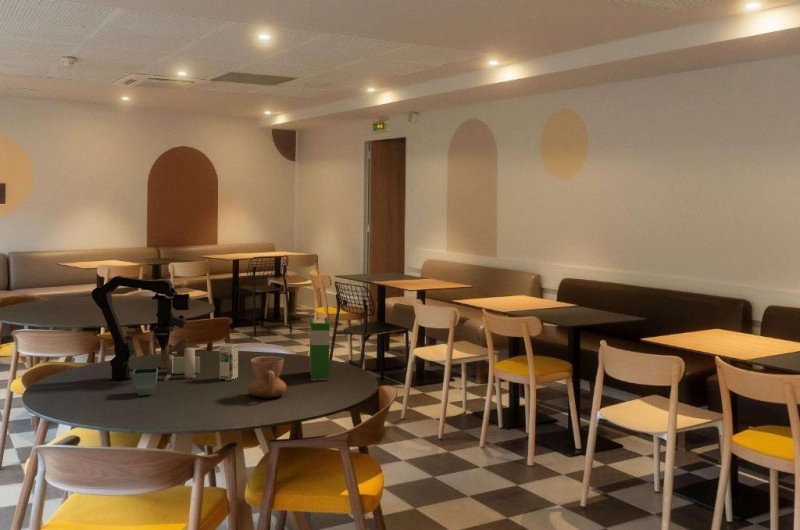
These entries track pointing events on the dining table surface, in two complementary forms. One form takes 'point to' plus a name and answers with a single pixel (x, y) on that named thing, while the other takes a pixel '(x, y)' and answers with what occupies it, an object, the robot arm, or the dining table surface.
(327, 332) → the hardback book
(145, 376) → the flower pot
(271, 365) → the ceramic jug
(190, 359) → the beige dome-topped cylinder
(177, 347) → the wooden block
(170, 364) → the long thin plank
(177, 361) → the beige flat block
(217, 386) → the dining table surface
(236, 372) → the syrup box
